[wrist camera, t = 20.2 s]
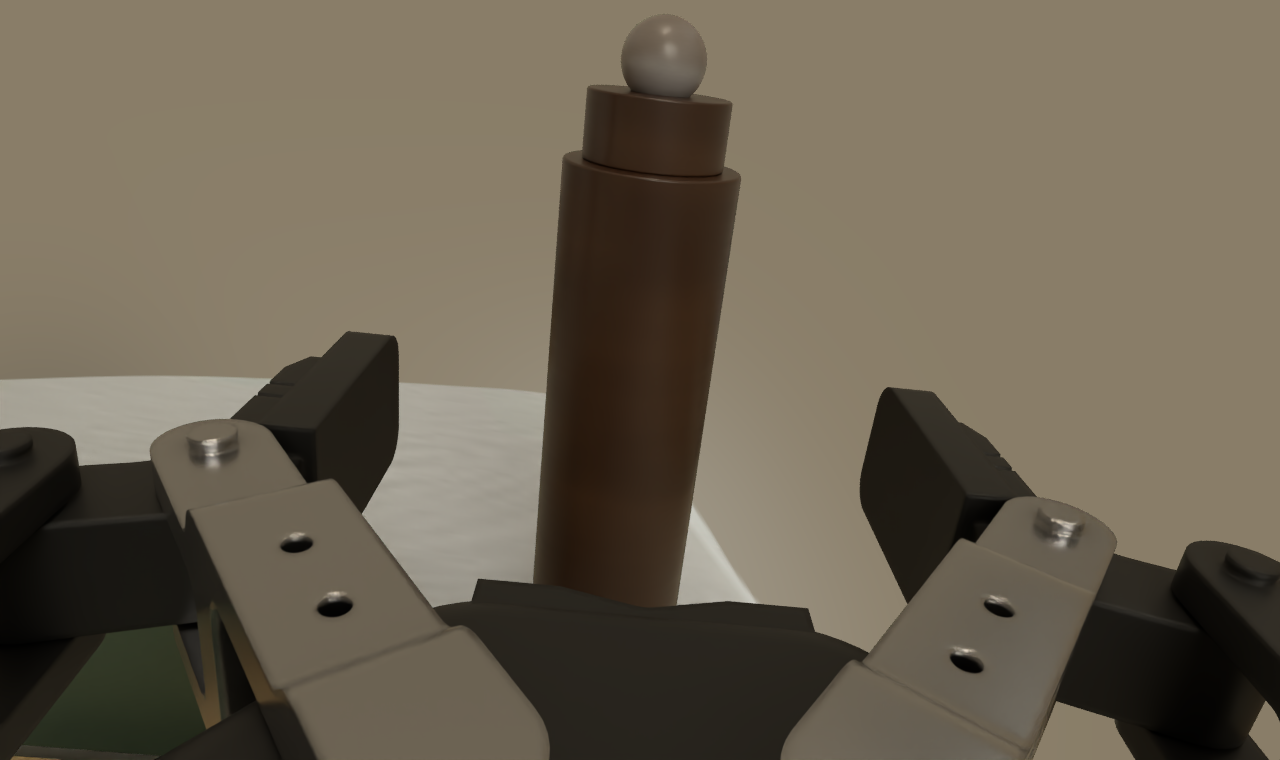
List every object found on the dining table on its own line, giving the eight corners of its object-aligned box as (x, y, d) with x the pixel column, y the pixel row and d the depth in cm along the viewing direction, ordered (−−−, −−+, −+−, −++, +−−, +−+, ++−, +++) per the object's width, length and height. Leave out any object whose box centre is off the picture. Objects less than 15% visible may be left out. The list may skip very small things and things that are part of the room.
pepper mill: (498, 676, 29) (534, -2, 21) (600, 623, 32) (667, 17, 24) (586, 764, 26) (670, 10, 18) (690, 696, 29) (802, 29, 21)
